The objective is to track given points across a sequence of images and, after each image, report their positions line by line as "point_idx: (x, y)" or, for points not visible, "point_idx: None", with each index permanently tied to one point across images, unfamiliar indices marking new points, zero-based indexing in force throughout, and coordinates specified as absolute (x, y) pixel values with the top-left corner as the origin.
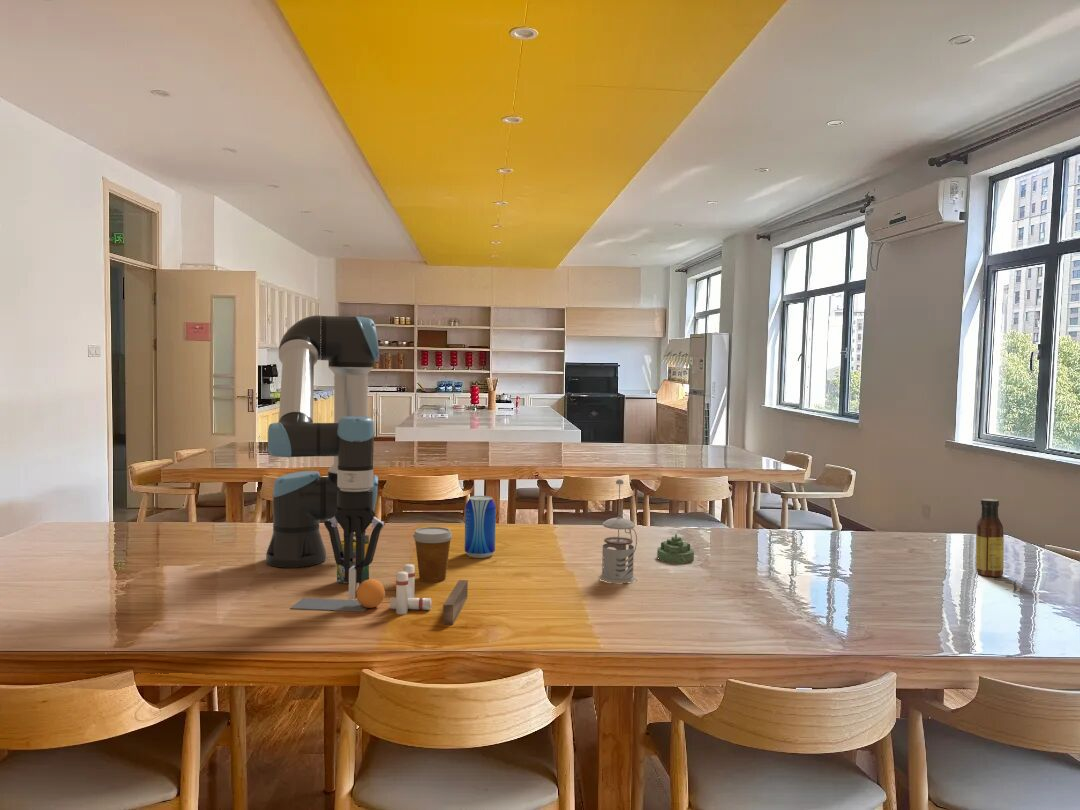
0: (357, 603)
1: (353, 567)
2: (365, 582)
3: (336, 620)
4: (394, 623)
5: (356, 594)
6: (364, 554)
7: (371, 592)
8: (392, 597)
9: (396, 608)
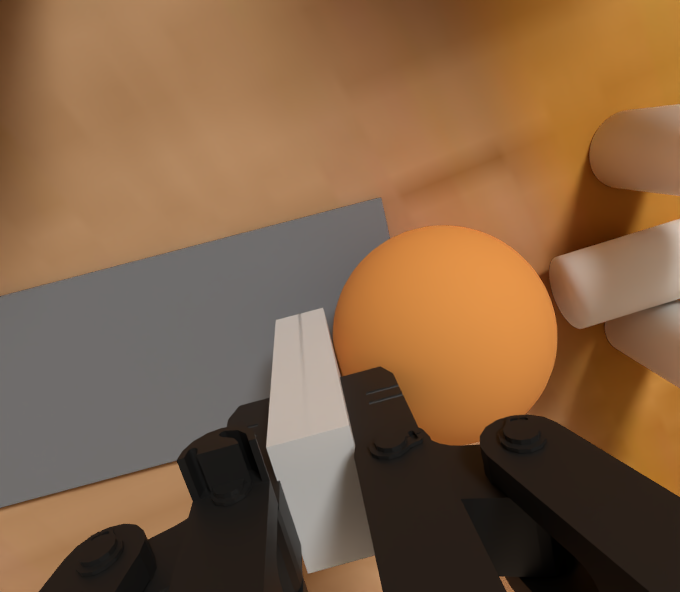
0: (309, 290)
1: (319, 504)
2: (446, 423)
3: None
4: (651, 473)
5: None
6: (475, 529)
7: None
8: (596, 294)
9: (630, 356)
